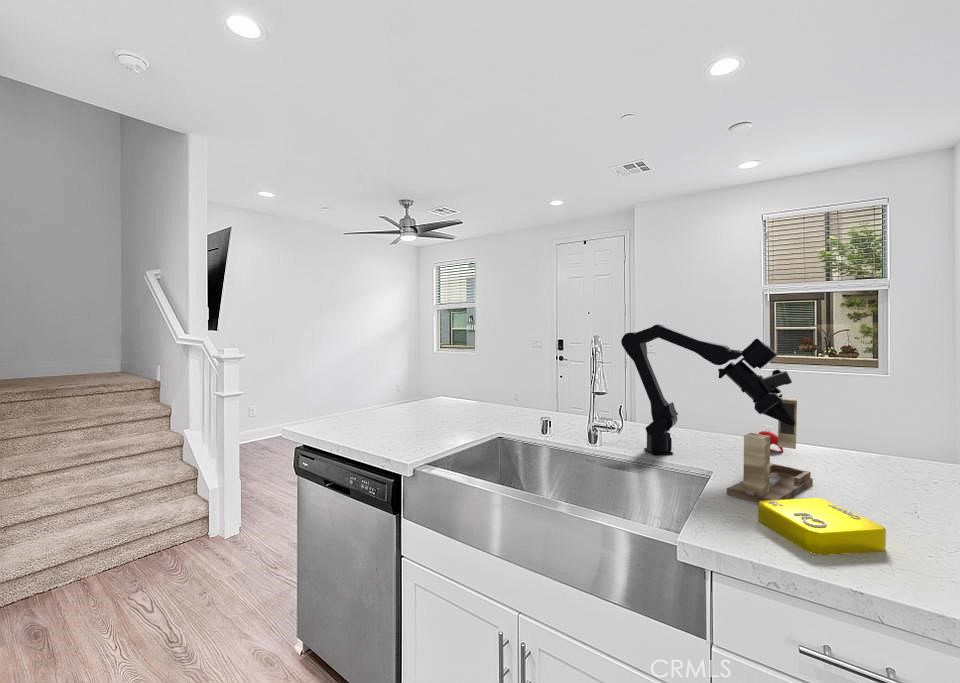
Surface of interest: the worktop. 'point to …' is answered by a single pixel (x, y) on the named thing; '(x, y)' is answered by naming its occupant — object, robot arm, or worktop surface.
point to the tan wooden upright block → (786, 431)
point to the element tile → (821, 526)
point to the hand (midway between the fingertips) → (793, 423)
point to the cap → (771, 438)
